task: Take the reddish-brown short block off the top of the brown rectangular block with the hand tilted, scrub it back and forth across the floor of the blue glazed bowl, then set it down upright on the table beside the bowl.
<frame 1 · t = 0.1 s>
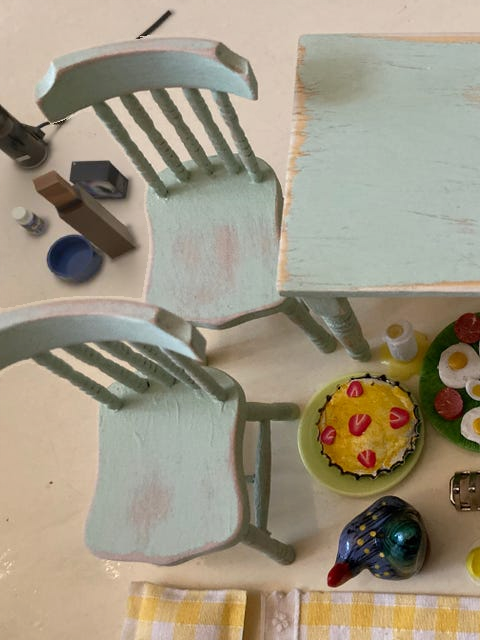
brown rectangular block: (120, 243, 192), on the table
small box: (109, 190, 197), on the table
bowl: (79, 262, 190), on the table
reddish-brown short block: (68, 200, 169), point 24 cm above the table, touching brown rectangular block
pill bottle: (38, 227, 194), on the table
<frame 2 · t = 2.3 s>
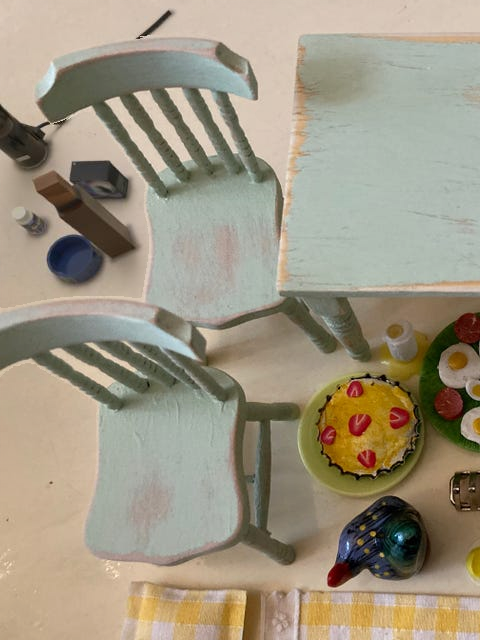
nothing on the table moved.
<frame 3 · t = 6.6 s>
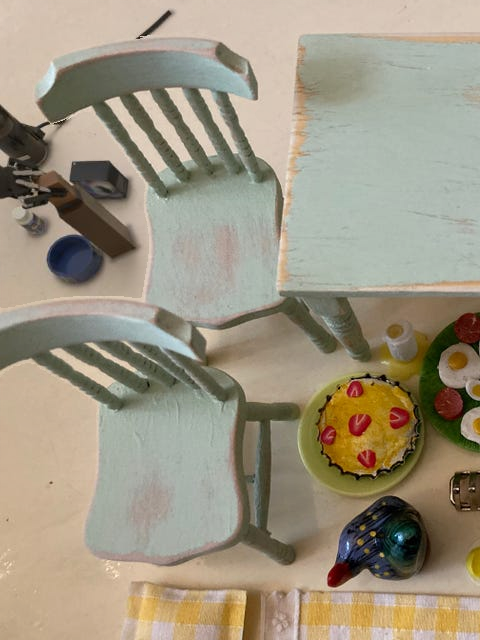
hand: (63, 185, 164), 29 cm above the table, tool tilted 45°, fingers closed on reddish-brown short block, 3 cm apart
reddish-brown short block: (68, 200, 169), point 24 cm above the table, touching gripper, brown rectangular block
everything else where it was.
when the fingers open (5 cm above the table, at t = 23.8 s): reddish-brown short block stays where it is, on the table.
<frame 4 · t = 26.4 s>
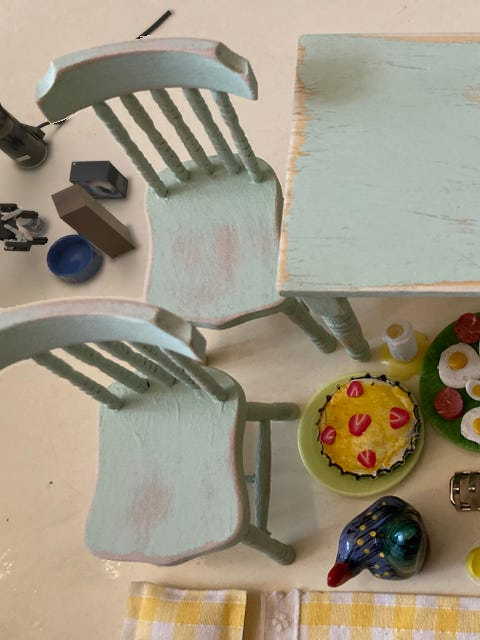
hand: (42, 227, 186), 7 cm above the table, tool tilted 45°, fingers open, 8 cm apart
reddish-brown short block: (89, 226, 193), on the table
pill bottle: (38, 227, 194), on the table, touching gripper
everything else where it was.
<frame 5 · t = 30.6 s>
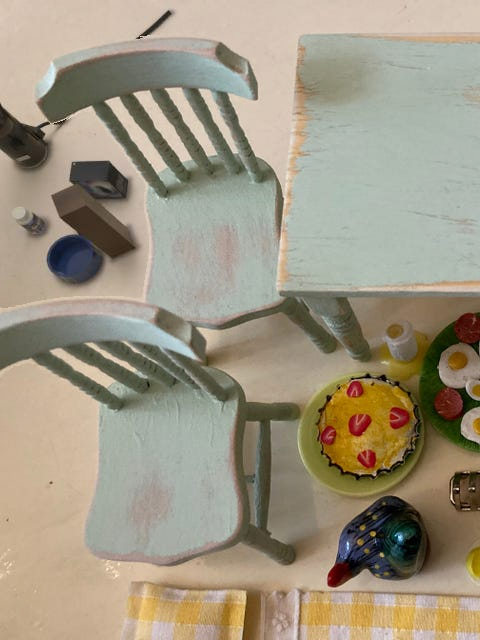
pill bottle: (38, 227, 194), on the table
everything else where it was.
at the end: reddish-brown short block 0.2 cm from the target spot on the table beside the bowl, on the table; reddish-brown short block tilted 0°; the gripper is holding nothing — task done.
